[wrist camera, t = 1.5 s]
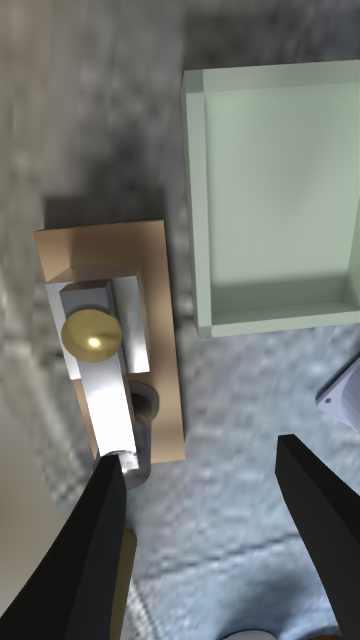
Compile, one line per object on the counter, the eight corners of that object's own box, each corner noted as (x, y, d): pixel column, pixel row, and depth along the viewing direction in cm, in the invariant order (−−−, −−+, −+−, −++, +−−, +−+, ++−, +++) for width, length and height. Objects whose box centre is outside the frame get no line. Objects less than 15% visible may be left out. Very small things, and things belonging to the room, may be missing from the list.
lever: (154, 425, 20) (153, 489, 15) (111, 430, 19) (98, 496, 15) (131, 263, 15) (119, 287, 11) (75, 268, 15) (41, 294, 11)
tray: (347, 307, 20) (372, 321, 17) (194, 323, 19) (199, 338, 17) (387, 77, 15) (428, 55, 12) (180, 91, 14) (184, 70, 12)
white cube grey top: (151, 338, 18) (149, 371, 14) (88, 344, 18) (70, 379, 14) (140, 259, 16) (135, 275, 12) (69, 266, 16) (44, 284, 12)
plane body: (183, 443, 24) (186, 462, 22) (101, 453, 23) (96, 473, 22) (163, 219, 16) (163, 221, 15) (44, 229, 16) (30, 232, 14)
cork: (90, 518, 26) (48, 714, 16) (147, 533, 28) (141, 721, 18) (66, 553, 28) (15, 749, 18) (121, 566, 30) (102, 753, 20)
